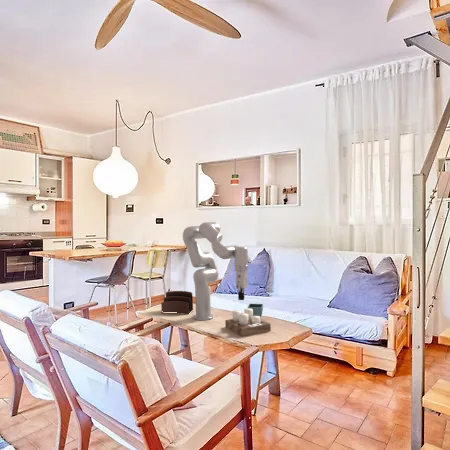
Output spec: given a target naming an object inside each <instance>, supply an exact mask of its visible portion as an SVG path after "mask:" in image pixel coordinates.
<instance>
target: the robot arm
mask: <svg viewBox="0 0 450 450" xmlns="http://www.w3.org/2000/svg"><path fill="white" fill-rule="evenodd" d="M198 239H199V240H200V239H202V240H203V239H206V240H207V241H208V242H209V243H210V244H211V249H212V251H213V253H214V254H215V255H217V257H218V258H220V259H221V260H228V259H234V272H235V288H236V289H237V294H238V295H237V296H238V297H237V298H238V301H244V300H245V289H246V288H247V287H248V271H249V268H248V267H249V264H248V262H249V261H248V258H249V257H248V254H249V253H248V251H249V250H248V248H247V246H239V245H235V244H234V245H225V246H224V245H223V244H222V242H221V241H222V240H223V234H222V233H221V226H220V225H219V223H217V222H213V221H212V222H211V221H210V222H209V221H208V222H206V221H205V222H202V223H201V224H200V225H191V226H186V228H184V230H183V232H182V240H183V243H184V246H185V247H186V250H187V253H188V256H189V260H190V262H191V265H192V267H193V268H196V269H197V270H195V271H194V272H193V274H192V275H193V276H192V277H193V282H194V290H195V292H194V293H195V314H194V315H193V319H194V320H195V321H207V320H212V319H213V318H214V315H213V314H212V309H211V288H210V286H209V283H213V282H216V281H217V280H218V279H219V271H218V267H217V264H216V261H215V258H214V256H213V254H212V253H210V252H208V251H206V252H205V251H204V252H203V251H202V249H201V246H200V244H199V243H198V242H197V240H198ZM199 268H200V269H199Z"/></svg>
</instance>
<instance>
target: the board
mask: <svg viewBox="0 0 450 450" xmlns="http://www.w3.org/2000/svg"><path fill="white" fill-rule="evenodd" d="M260 321H261V323H259V324H262V325H261V326H255V327H250V326H243V327H242V326H240V322H238V323H234V322H233V318H231V319H225V321H224V322H225V324H224V325H225V328H227V329H228V330H230V331H232V332H234V333H236V334H238V335H239V336H241V337H247V336H252V335H258V334H262V333H267V332H271V329H272V327H271V326H272V325H271V323H270V322H267V321H265V320H263V319H262V318H261V319H260ZM248 323H249V325H250V324H253V323H252V320H249V321H248Z"/></svg>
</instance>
